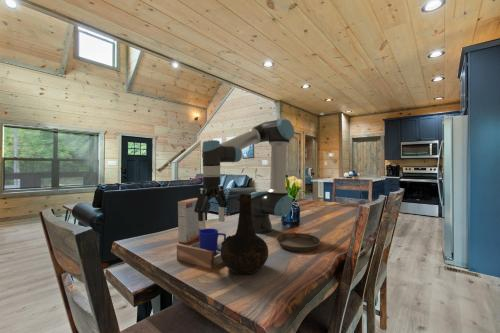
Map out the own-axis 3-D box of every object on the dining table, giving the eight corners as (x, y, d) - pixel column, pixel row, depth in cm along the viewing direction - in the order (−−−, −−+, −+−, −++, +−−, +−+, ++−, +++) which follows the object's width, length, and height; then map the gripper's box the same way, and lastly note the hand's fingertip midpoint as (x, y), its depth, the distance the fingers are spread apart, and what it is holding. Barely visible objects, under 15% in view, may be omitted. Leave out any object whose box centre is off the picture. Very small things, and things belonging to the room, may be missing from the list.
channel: (203, 247, 113) (203, 234, 113) (236, 254, 104) (236, 240, 104) (176, 259, 98) (176, 244, 98) (211, 268, 89) (211, 252, 89)
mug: (222, 258, 99) (222, 234, 99) (195, 256, 102) (195, 232, 102) (228, 251, 107) (228, 229, 107) (203, 249, 110) (203, 227, 110)
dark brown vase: (225, 258, 99) (225, 191, 99) (269, 260, 97) (268, 191, 97) (215, 278, 81) (215, 196, 81) (267, 281, 80) (267, 197, 80)
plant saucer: (311, 257, 102) (311, 249, 102) (269, 248, 113) (269, 240, 113) (325, 243, 119) (325, 237, 119) (287, 237, 130) (287, 231, 130)
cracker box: (195, 235, 133) (195, 197, 133) (203, 236, 130) (203, 198, 130) (177, 242, 120) (177, 200, 120) (186, 244, 118) (186, 201, 118)
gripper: (221, 174, 116) (222, 217, 117) (184, 177, 95) (185, 231, 95) (234, 174, 113) (235, 219, 113) (199, 178, 91) (199, 233, 91)
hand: (212, 224), depth 104 cm, fingers open, 13 cm apart
